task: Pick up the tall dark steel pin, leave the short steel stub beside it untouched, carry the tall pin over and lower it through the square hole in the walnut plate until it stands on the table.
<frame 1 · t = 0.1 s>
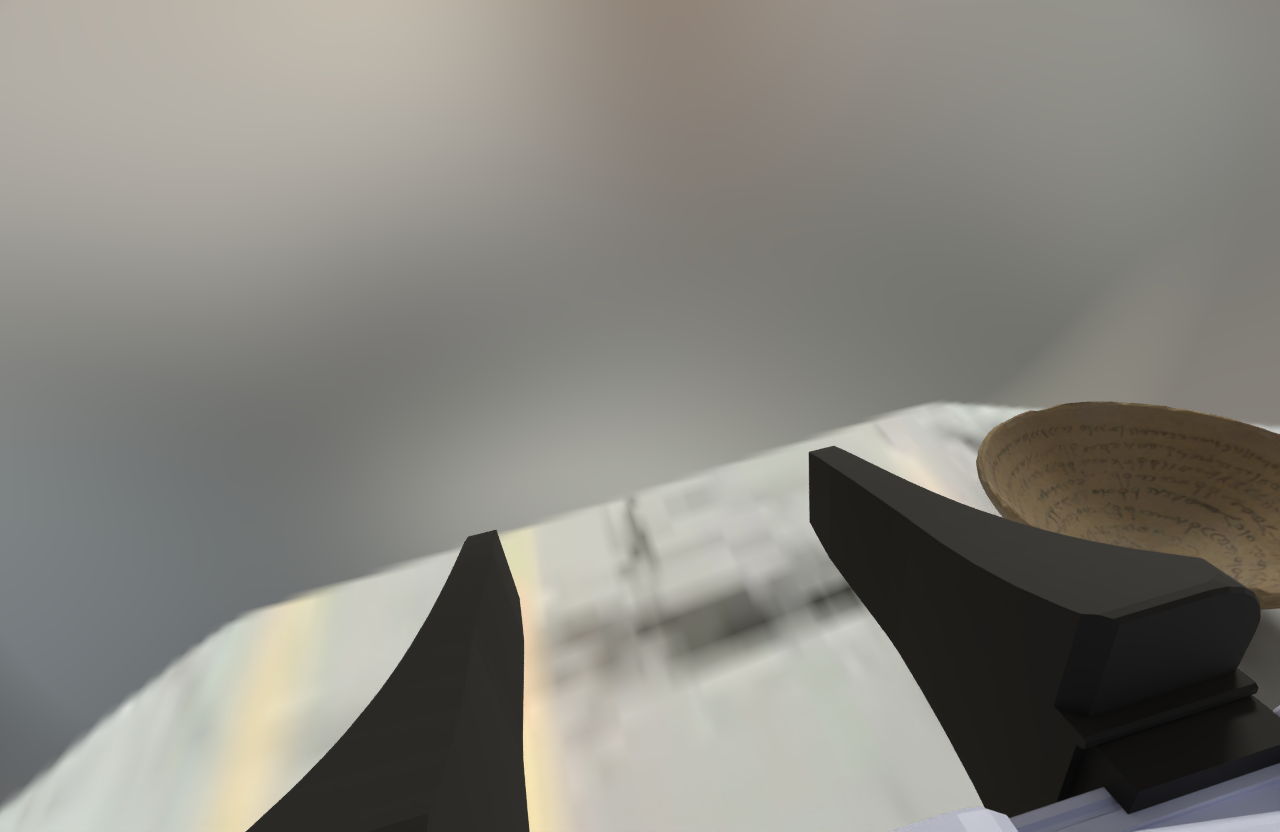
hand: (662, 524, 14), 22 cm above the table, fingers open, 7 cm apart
bowl: (1133, 581, 38), on the table
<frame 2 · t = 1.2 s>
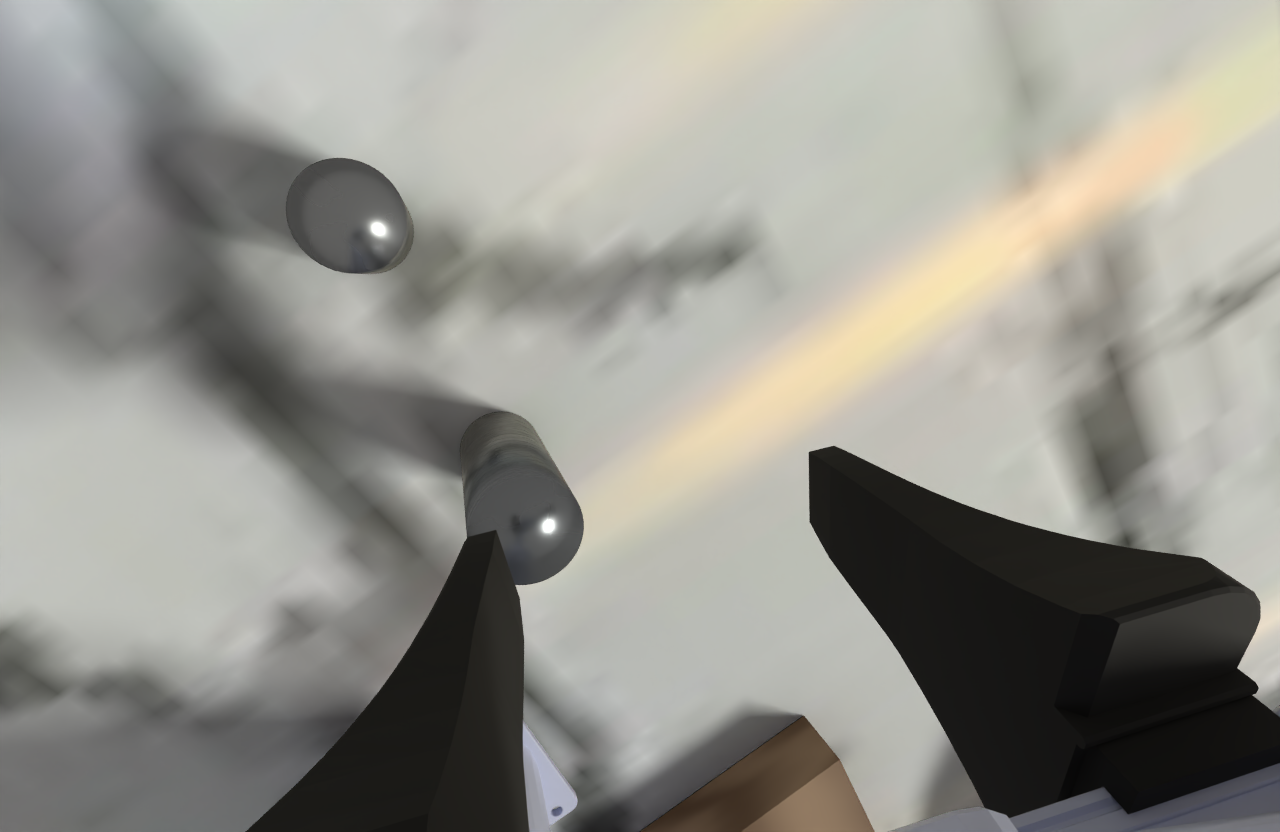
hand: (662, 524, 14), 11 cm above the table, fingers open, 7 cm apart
tall pin: (500, 450, 23), on the table
short pin: (366, 227, 20), on the table
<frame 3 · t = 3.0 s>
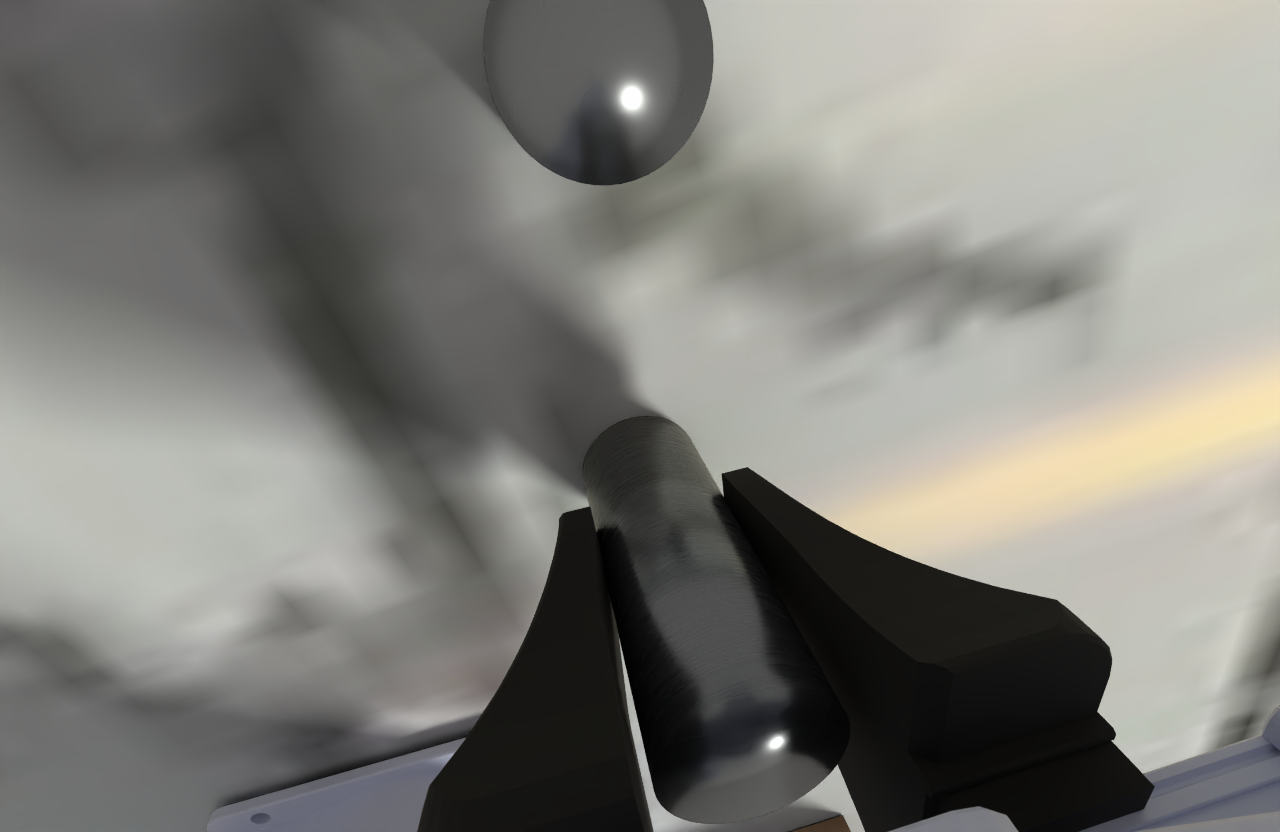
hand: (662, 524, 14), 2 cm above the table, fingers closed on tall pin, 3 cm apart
tall pin: (640, 467, 16), on the table, touching gripper
short pin: (570, 73, 11), on the table
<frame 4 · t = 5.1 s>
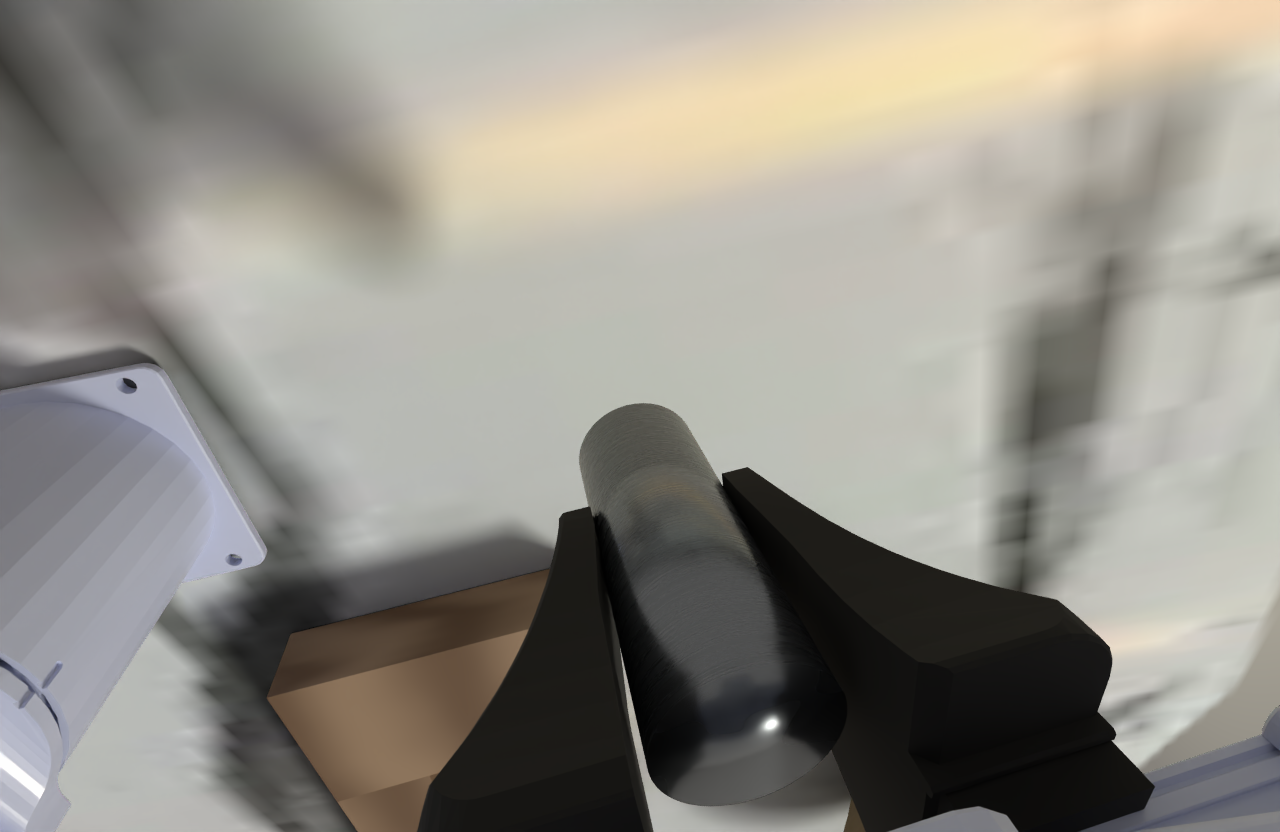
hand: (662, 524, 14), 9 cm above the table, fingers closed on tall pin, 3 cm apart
tall pin: (637, 455, 16), point 7 cm above the table, touching gripper
bowl: (905, 749, 39), on the table
hole plate: (495, 729, 29), on the table
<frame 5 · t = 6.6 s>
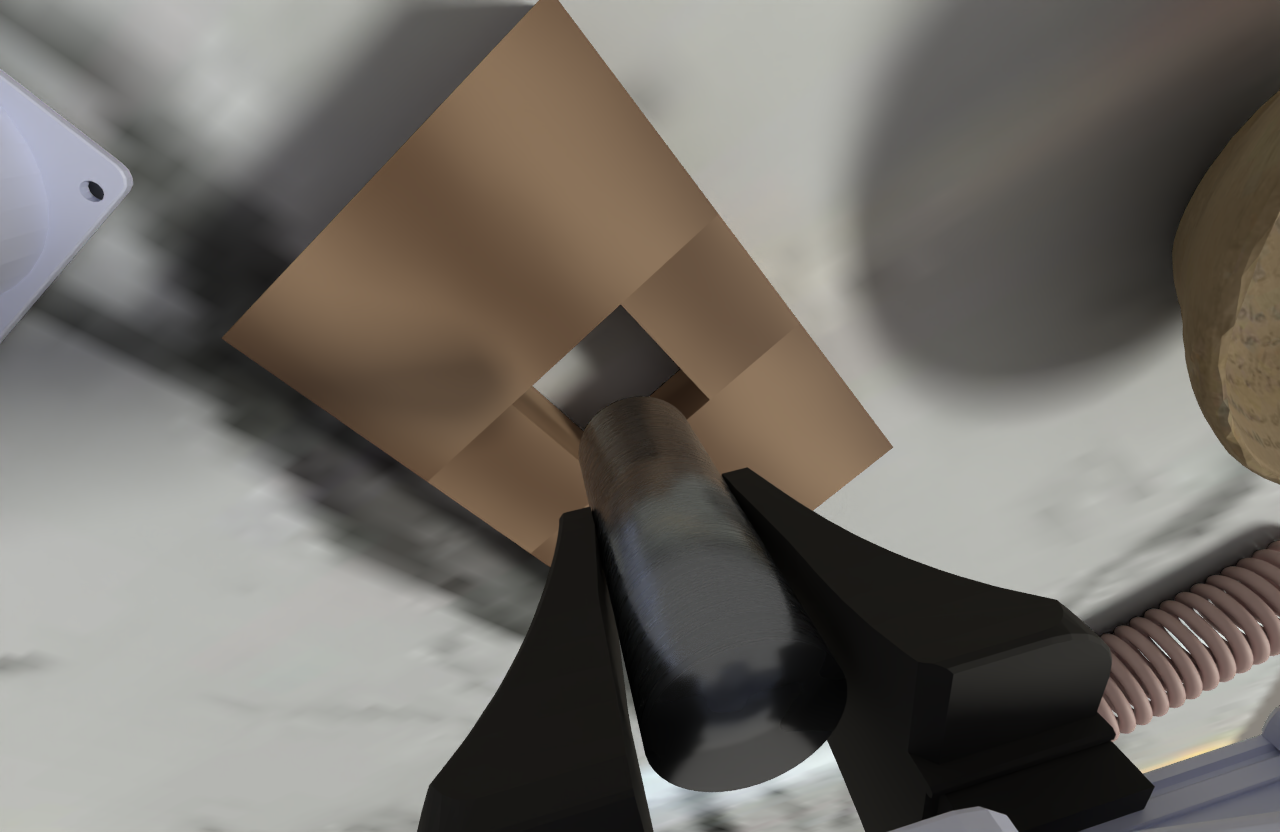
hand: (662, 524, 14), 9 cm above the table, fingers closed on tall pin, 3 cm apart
tall pin: (636, 449, 16), point 7 cm above the table, touching gripper
bowl: (1235, 194, 24), on the table
hole plate: (600, 365, 22), on the table
coil: (1151, 609, 37), on the table
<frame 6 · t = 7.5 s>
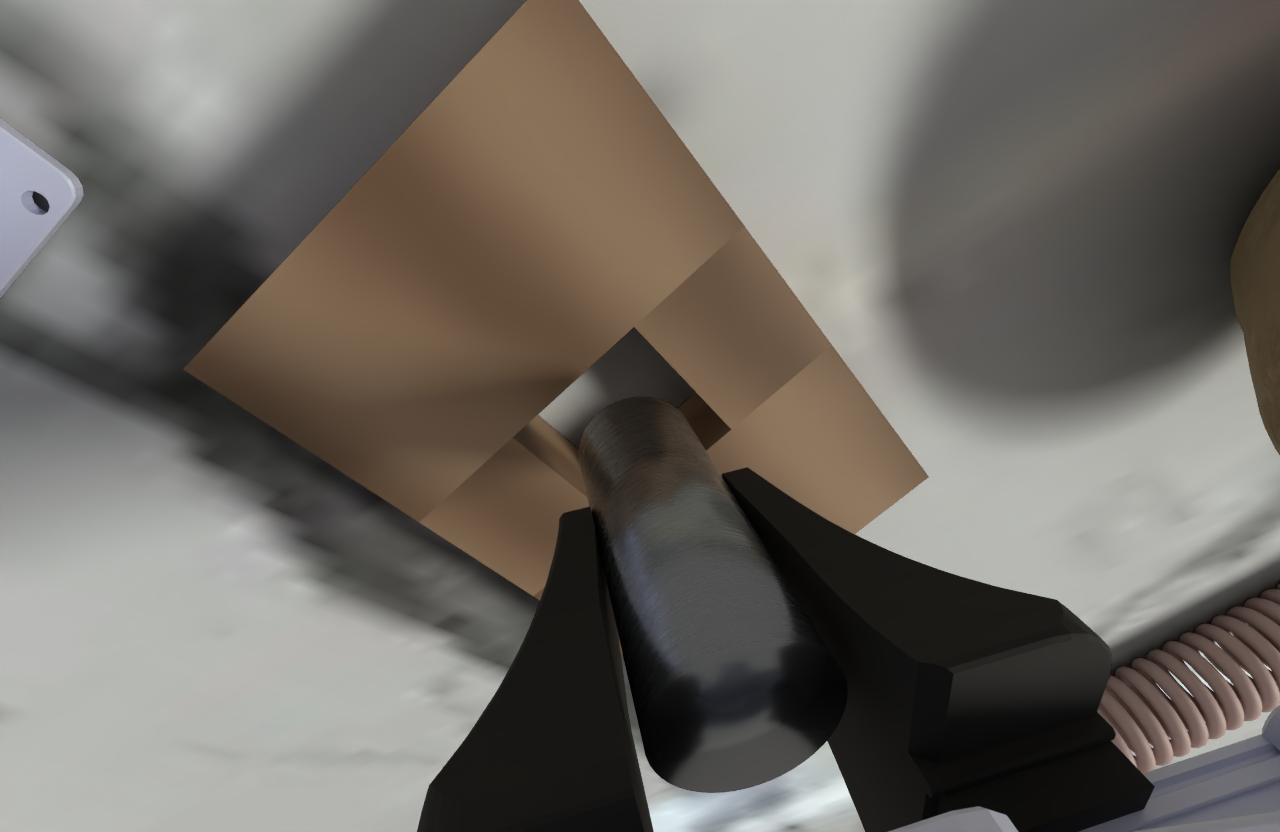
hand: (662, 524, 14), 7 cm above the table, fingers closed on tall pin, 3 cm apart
tall pin: (636, 450, 16), point 5 cm above the table, touching gripper
hole plate: (609, 389, 20), on the table
coil: (1185, 632, 35), on the table
when the fingers open (4 cm above the table, at t = 8.5 s): tall pin drops 1 cm, resting in hole plate.
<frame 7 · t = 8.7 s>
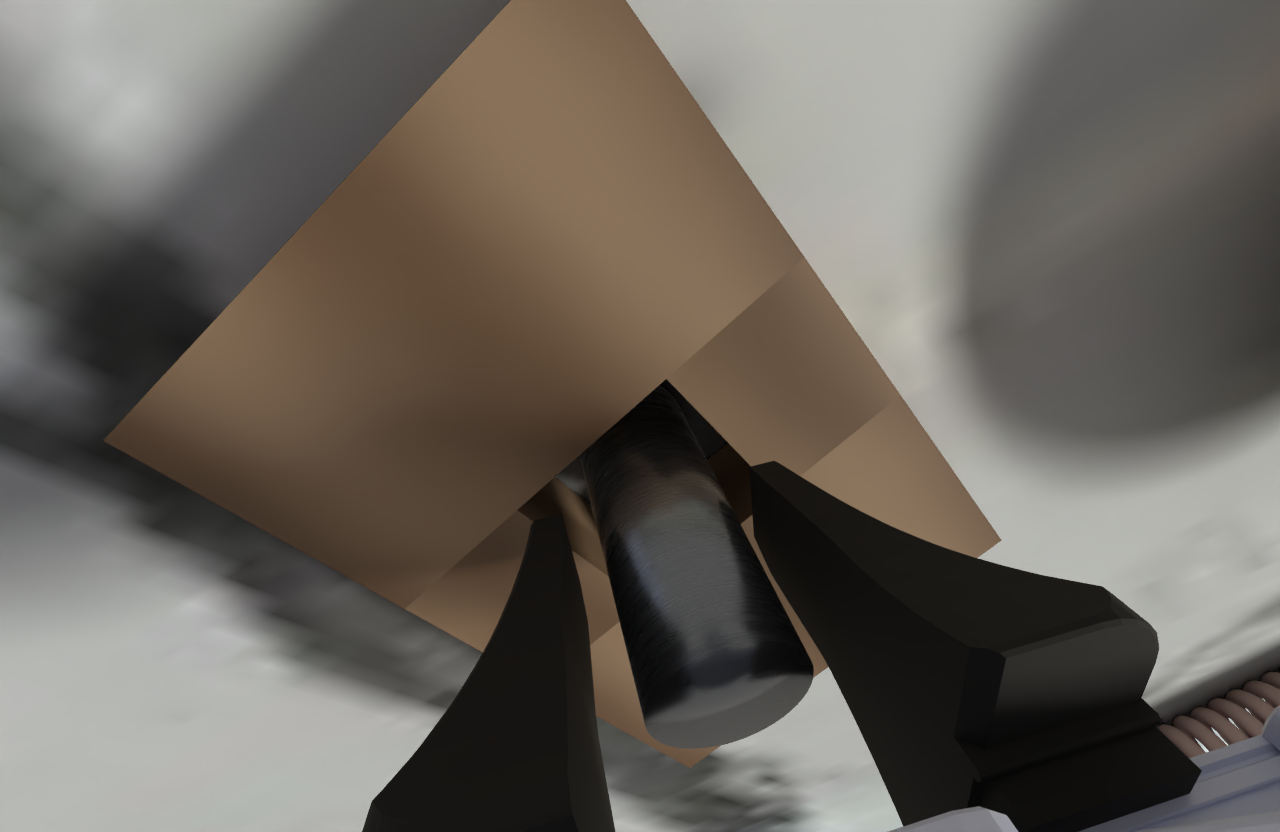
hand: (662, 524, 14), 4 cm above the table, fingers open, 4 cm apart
tall pin: (628, 427, 17), resting in hole plate, tilted 7°
hole plate: (629, 439, 17), on the table
coil: (1248, 679, 32), on the table
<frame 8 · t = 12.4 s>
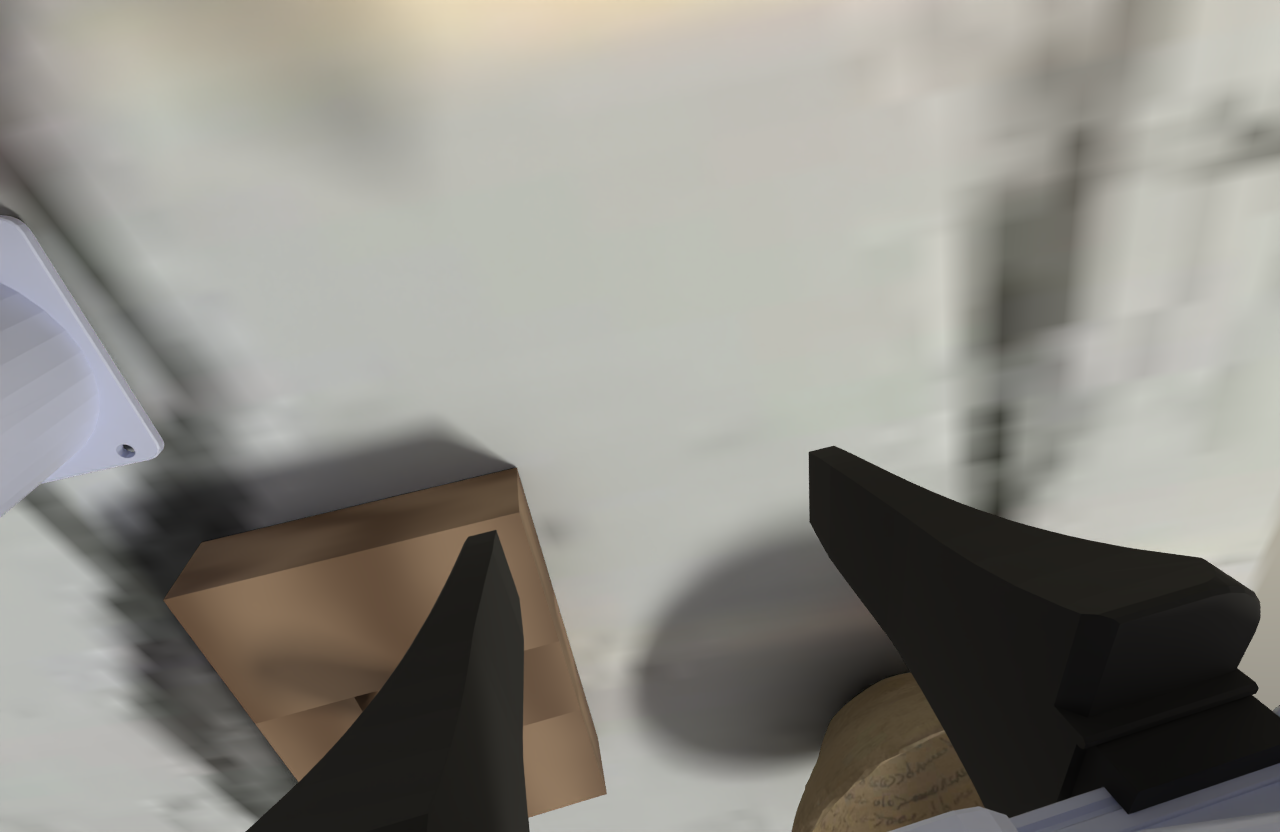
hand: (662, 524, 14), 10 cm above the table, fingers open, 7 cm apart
bowl: (881, 695, 37), on the table
hole plate: (435, 658, 28), on the table
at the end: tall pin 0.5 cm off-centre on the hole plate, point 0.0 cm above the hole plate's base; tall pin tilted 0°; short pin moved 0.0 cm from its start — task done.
